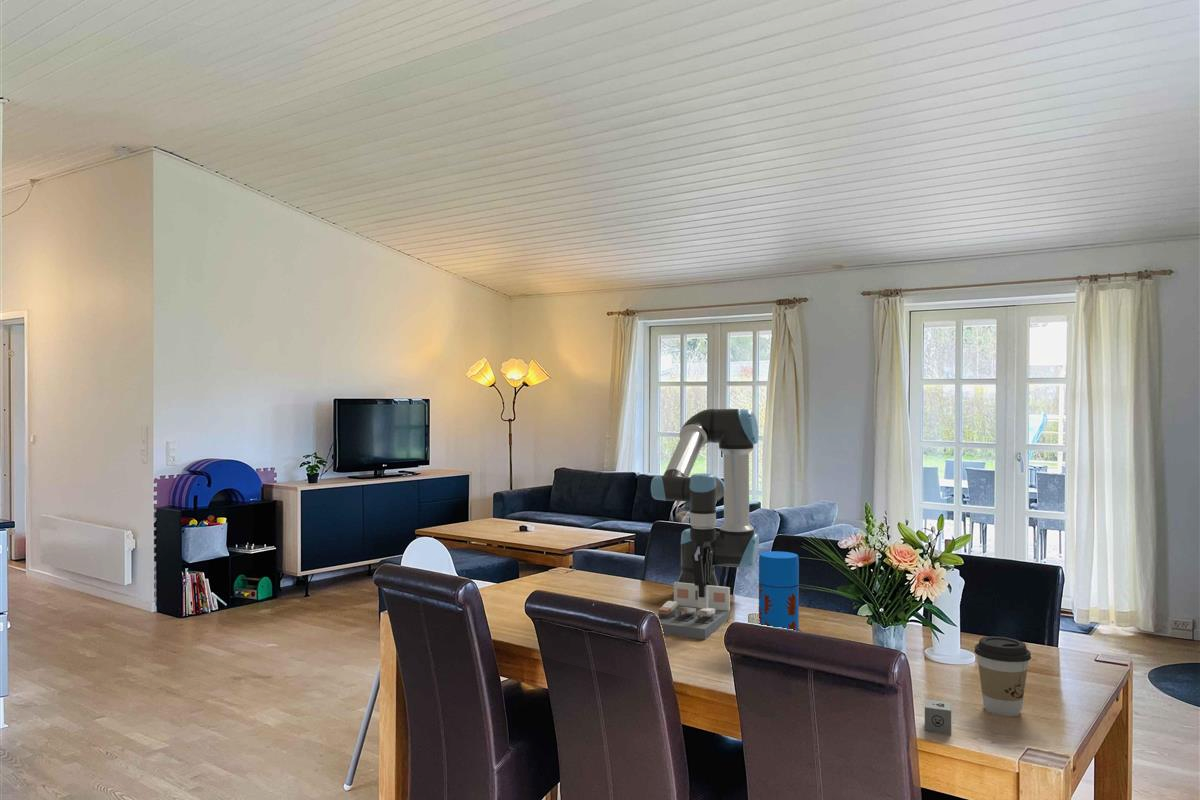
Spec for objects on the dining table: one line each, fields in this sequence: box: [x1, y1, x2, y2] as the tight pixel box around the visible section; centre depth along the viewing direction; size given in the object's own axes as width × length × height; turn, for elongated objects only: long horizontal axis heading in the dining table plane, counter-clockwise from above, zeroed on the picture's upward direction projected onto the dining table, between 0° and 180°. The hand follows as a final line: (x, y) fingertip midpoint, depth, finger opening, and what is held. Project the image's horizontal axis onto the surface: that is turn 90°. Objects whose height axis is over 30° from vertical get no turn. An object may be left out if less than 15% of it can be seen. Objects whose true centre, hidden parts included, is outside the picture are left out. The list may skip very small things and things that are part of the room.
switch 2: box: [678, 607, 696, 612], centre depth 252 cm, size 8×3×1 cm, turn 154°
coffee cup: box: [973, 635, 1032, 718], centre depth 185 cm, size 11×11×15 cm
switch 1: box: [658, 600, 677, 615], centre depth 255 cm, size 8×3×1 cm, turn 155°
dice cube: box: [924, 698, 952, 736], centre depth 175 cm, size 5×5×5 cm
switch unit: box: [657, 581, 731, 641], centre depth 254 cm, size 24×18×10 cm
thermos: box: [758, 550, 800, 631], centre depth 234 cm, size 11×11×25 cm
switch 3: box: [697, 608, 715, 616], centre depth 250 cm, size 8×3×1 cm, turn 155°
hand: (703, 607), depth 247 cm, fingers closed
